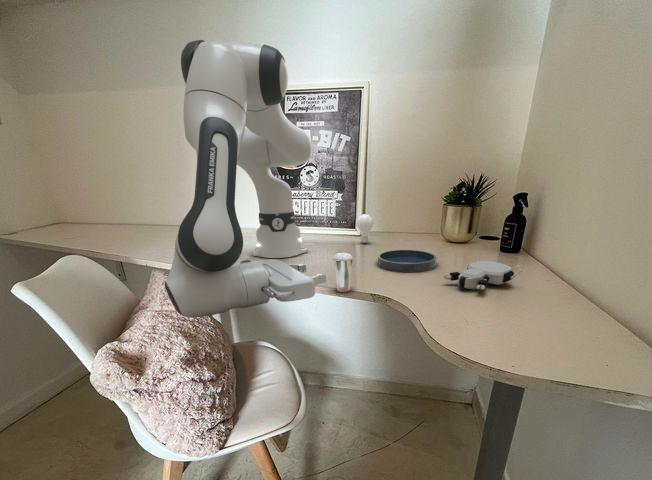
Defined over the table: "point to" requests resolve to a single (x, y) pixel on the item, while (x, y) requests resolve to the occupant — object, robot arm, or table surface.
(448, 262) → the table surface
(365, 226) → the lightbulb
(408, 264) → the blue round tray
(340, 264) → the salt shaker
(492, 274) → the robot toy
